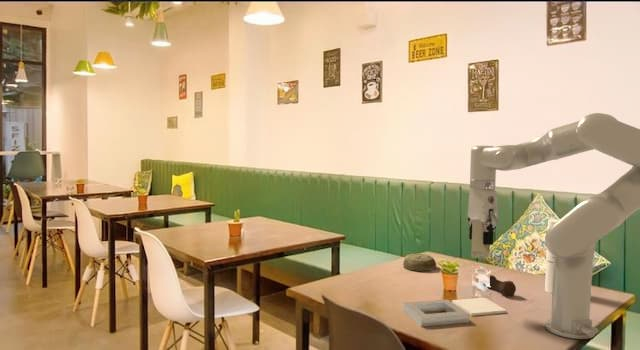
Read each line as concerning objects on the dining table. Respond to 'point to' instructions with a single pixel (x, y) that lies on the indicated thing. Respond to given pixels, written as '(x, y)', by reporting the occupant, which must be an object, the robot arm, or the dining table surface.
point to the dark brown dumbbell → (503, 286)
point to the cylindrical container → (549, 263)
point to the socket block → (450, 317)
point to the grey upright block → (479, 240)
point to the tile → (479, 306)
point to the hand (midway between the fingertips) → (480, 241)
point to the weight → (419, 262)
